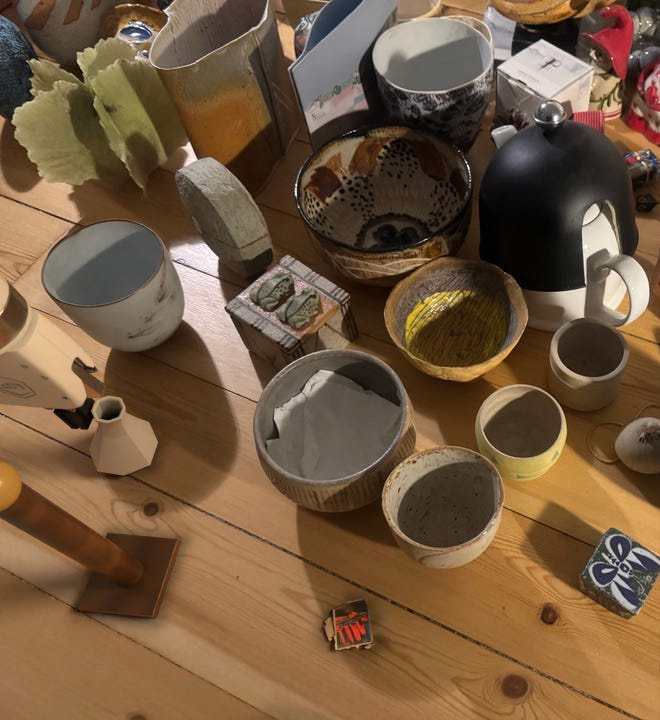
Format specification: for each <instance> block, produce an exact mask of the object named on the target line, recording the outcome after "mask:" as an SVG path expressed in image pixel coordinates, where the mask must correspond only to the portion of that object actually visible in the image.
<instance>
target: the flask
mask: <svg viewBox="0 0 660 720" xmlns="http://www.w3.org/2000/svg"><path fill="white" fill-rule="evenodd" d="M126 410H127V408H126V405H125V403H124V400H123V398H122V397H118V396H113V395H105V396H103V397H102V398H96V399H95V403H94V405H93V408H92V410H91V412H92V414H93V416H94V419H93V420H94V421H95V423H97V428H96V431H95V434H94V435H93V438H92V441H91V443H90V446H89V447H88V452H89V454H90V457H91V459H92V462H93V464H94V466H95V469H96V471H97V472H98V473H99V472H100V473H106V474H113V475H119V476H126V475H129V474H131V473H134V472H136V471H139V470H142V469H144V468H146V467H149V466H151V465H152V461H153V458H154V455H155V453H156V449H157V447H158V444H159V441H158V439H157V437H156V434H155V432H154V430H153V428H152V425H151V424H150V422H149V421H147V420H144V419H142V418H139V417H136V416H134V415H132V414H130V413H128V412H127V411H126Z"/></svg>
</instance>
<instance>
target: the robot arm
mask: <svg viewBox="0 0 660 720" xmlns="http://www.w3.org/2000/svg"><path fill="white" fill-rule="evenodd" d="M98 372H99V369H98V366H97V364H96V363H95V361H94V360H93V359H92V357H91V356H90V354H88V353H87V352H86V350H85V349H83V348H82V347H81V345H79V344H78V342H76V341H75V340H74V339H73V338H71V336H69V335H68V334H67V333H66V332H65V331H64V330H63V329H61V328H60V327H59V326H58V325H56V324H55V323H54V322H53V321H51V320H50V319H48V318H47V316H44V315H43V314H42V313H41V312H39V311H38V310H36V309H34V308H32V307H31V304H30V303H29V301H28V300H27V299H26V298H25V297H24V296H23V295H22V294H21V293H20V292H19V290H17V288H15V287H14V285H12V283H11V282H10V281H9V280H8V279H7V278H6V277H5V276H3V274H2V273H0V405H4V406H5V405H6V406H15V407H28V408H42V409H43V410H48V411H52V413H53V414H54V415H55V416H56V417H57V418H58V419H59V420H61V421H62V422H63V423H64V424H65V425H66V426H68V427H69V428H70V429H71V430H79V429H80V430H82V431H88V430H89V429H90V427H91V424H92V421H93V420H95V419H94V416H93V414H92V412H91V410H92V408H93V405H94V403H95V401H96V399H100V398H103V397H104V394H105V392H106V389H107V387H108V386H107V385H106V383H104V382H103V381H101V380H100V379H98V378H97V377H96V376H94V375H93V374H95V373H98Z"/></svg>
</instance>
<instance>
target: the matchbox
mask: <svg viewBox="0 0 660 720" xmlns="http://www.w3.org/2000/svg"><path fill="white" fill-rule="evenodd" d="M370 611H371V610H370V609H369V606H368V604H367V602H366V600H365V598H359V599H354V600H349V601H347V602H344V603H342V604H341V605H339V606H337V607H336V608H334V609H332V616H329V617H328V618H327V619H326V620H325V621H324V623H325V625H323V627H324V630H325V633H326V637H327V638H328V641H330V642H331V641H332V640H333V639H334V649H335V651H341V650H344V649H345V650H346V649H348V650H349V649H350V648H356V649H359V647H360V646H362V645H365V646H364V649H366V650H368V649H371V648H372V647H374V646H375V645H377V643H376V642H374V643H373V640H374V635H373V632H372V631H373V628H372V623H371V622H372V618H371V612H370Z"/></svg>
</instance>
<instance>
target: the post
mask: <svg viewBox="0 0 660 720" xmlns="http://www.w3.org/2000/svg"><path fill="white" fill-rule="evenodd" d="M0 519H1V520H3V521H4V522H7V523H8V524H10V525H11V526H14V528H17V530H18V529H19V530H20V531H22V532H24V533H25V534H28V535H29V536H30V537H32V538H33V539H36V540H38V541H40V542H41V543H43V544H45V545H46V546H49V547H50V548H51V549H54V550H55V551H57V552H59V553H61V554H63V555H64V556H66V557H67V558H70V559H71V560H73V561H74V562H76V563H78V564H80V565H82V566H83V567H85V568H87V569H89V570H90V571H91V572H90V573H91V574H90V576H89V579H88V581H87V584H86V586H85V590H84V592H83V594H82V597H81V599H80V601H79V604H78V606H77V609H78V610H80V611H83V612H89V613H101V614H111V615H122V616H131V617H140V618H150V619H157V618H158V616H159V612H160V610H161V609H160V608H161V606H162V602H163V600H164V598H165V597H164V596H165V593H166V591H167V587H168V584H169V581H170V578H171V575H172V572H173V569H174V566H175V563H176V560H177V557H178V553H179V550H180V547H181V545H182V541H181V540H180V539H179V538H172V537H171V538H170V537H160V536H150V535H149V536H148V535H137V534H127V533H116V532H107V533H106V535H105V536H104V535H102V534H101V533H100V532H98V531H96V530H95V529H93V528H92V527H90V526H89V525H88V524H86V523H84V522H83V521H81V520H80V519H78V518H77V517H76V516H74V515H73V514H71V513H69V512H68V511H67V510H65V509H63V508H62V507H61V506H59V505H58V504H56V503H54V501H52V500H50V499H48V498H47V497H46V496H44V495H42V493H40V492H38V491H37V490H36V489H33V488H32V487H31V486H29V485H28V484H26V483H24V482H23V481H22V478H21V475H20V474H19V472H18V471H17V469H16V468H14V467H13V466H12V465H10V464H9V463H7V462H4V461H0Z"/></svg>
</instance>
